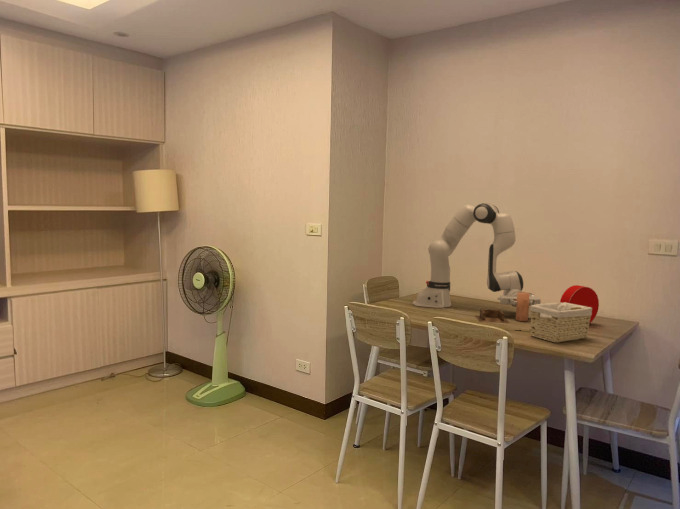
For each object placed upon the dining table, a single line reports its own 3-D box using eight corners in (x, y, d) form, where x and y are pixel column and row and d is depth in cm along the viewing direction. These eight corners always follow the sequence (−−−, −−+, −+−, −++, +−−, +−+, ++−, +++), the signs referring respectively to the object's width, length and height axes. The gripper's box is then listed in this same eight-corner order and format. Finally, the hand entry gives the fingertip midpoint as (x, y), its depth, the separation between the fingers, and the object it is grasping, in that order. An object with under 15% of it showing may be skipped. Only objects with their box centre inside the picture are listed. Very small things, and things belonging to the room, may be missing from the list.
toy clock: (588, 322, 271) (590, 284, 269) (597, 325, 265) (600, 286, 263) (558, 324, 263) (560, 285, 262) (566, 327, 258) (569, 287, 256)
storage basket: (561, 331, 250) (563, 301, 249) (592, 339, 236) (594, 307, 235) (526, 336, 238) (528, 304, 237) (556, 345, 224) (559, 311, 223)
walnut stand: (479, 324, 260) (479, 313, 260) (474, 317, 275) (474, 307, 275) (510, 325, 259) (510, 315, 259) (503, 318, 274) (504, 309, 273)
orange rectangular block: (518, 322, 261) (520, 294, 259) (514, 318, 269) (516, 291, 268) (530, 322, 260) (532, 295, 259) (526, 318, 268) (528, 292, 267)
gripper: (497, 291, 278) (502, 296, 265) (536, 293, 277) (544, 298, 263) (496, 303, 279) (501, 308, 265) (535, 305, 277) (543, 310, 264)
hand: (523, 303), depth 264 cm, fingers closed on orange rectangular block, 6 cm apart
